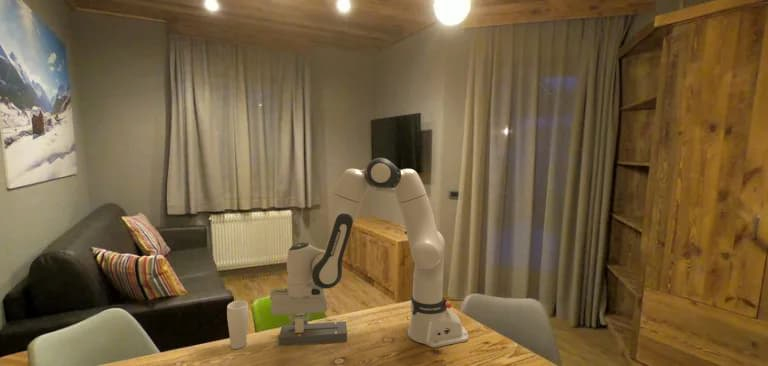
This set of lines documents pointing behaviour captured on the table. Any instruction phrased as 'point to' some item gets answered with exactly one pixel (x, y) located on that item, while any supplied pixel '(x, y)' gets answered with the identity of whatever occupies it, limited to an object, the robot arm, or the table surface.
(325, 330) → the console
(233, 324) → the drinking glass
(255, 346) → the table surface
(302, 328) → the fader tab
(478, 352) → the table surface
